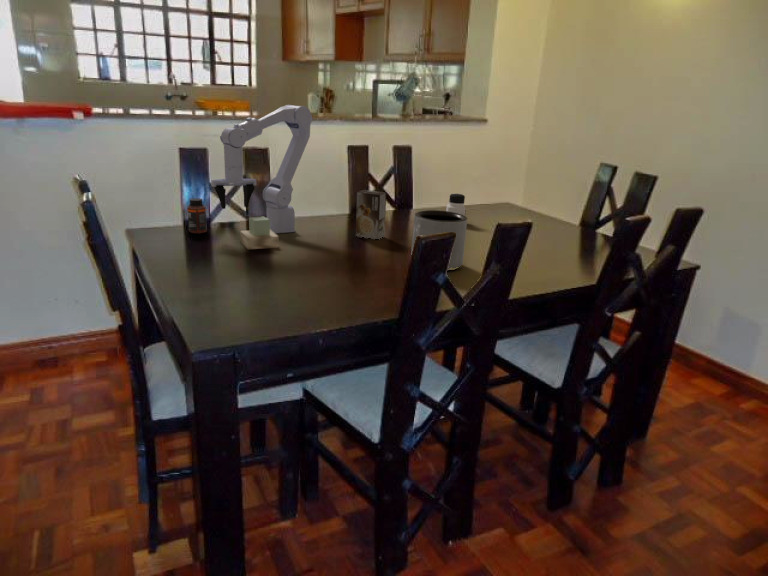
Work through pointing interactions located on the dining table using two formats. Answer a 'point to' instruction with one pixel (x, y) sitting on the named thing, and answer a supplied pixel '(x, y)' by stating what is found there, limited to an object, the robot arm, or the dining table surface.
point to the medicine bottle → (456, 204)
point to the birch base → (259, 240)
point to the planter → (442, 230)
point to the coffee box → (370, 214)
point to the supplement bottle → (197, 216)
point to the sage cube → (259, 226)
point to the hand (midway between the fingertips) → (234, 207)
